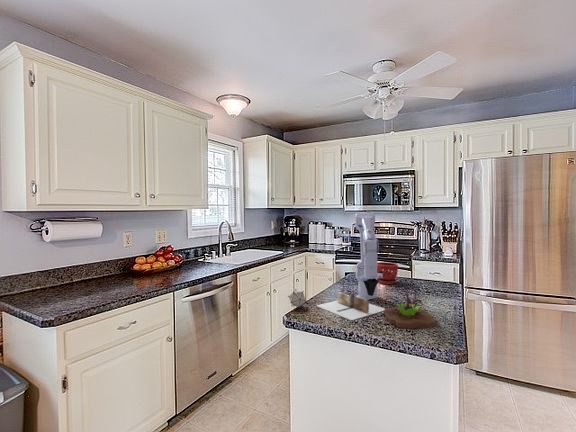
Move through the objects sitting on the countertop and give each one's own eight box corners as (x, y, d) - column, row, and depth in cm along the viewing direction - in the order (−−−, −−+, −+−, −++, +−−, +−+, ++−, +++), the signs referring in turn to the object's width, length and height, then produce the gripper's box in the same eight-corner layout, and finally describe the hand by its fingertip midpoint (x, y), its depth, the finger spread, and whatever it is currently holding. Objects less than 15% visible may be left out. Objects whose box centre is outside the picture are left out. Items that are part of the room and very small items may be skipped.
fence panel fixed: (355, 307, 144) (355, 294, 144) (352, 308, 143) (352, 294, 143) (339, 302, 153) (339, 289, 153) (337, 302, 152) (337, 289, 152)
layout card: (350, 297, 161) (350, 297, 161) (387, 310, 142) (387, 309, 142) (316, 306, 148) (316, 305, 148) (351, 320, 129) (351, 319, 129)
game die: (296, 316, 145) (286, 302, 140) (291, 304, 152) (282, 291, 148) (312, 306, 145) (304, 292, 140) (307, 295, 153) (298, 281, 148)
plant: (421, 311, 141) (421, 287, 140) (443, 328, 121) (444, 300, 121) (377, 312, 140) (377, 287, 140) (393, 329, 121) (393, 301, 120)
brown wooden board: (353, 307, 143) (353, 297, 143) (355, 307, 144) (355, 296, 144) (367, 312, 137) (367, 301, 137) (368, 312, 137) (368, 301, 137)
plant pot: (400, 285, 186) (400, 265, 186) (378, 285, 186) (378, 265, 186) (393, 280, 199) (393, 261, 199) (373, 280, 199) (373, 261, 199)
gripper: (366, 269, 135) (366, 300, 135) (388, 265, 143) (387, 294, 143) (354, 266, 141) (354, 296, 141) (375, 263, 149) (375, 291, 149)
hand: (370, 295), depth 143 cm, fingers closed
